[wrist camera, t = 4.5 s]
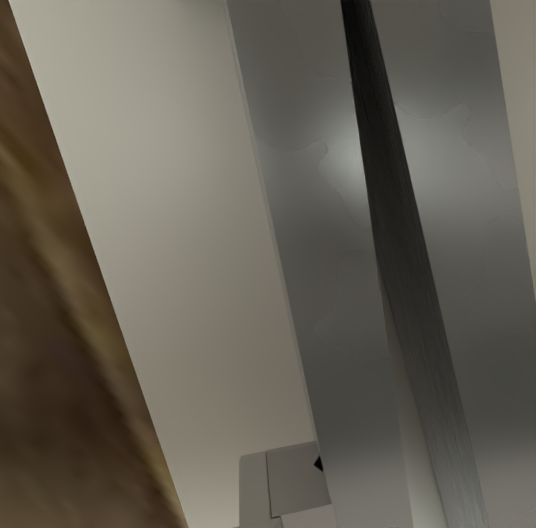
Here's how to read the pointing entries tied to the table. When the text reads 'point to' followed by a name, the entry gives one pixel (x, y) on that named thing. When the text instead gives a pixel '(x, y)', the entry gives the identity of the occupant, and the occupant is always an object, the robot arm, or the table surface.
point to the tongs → (323, 245)
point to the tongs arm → (451, 244)
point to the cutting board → (211, 229)
